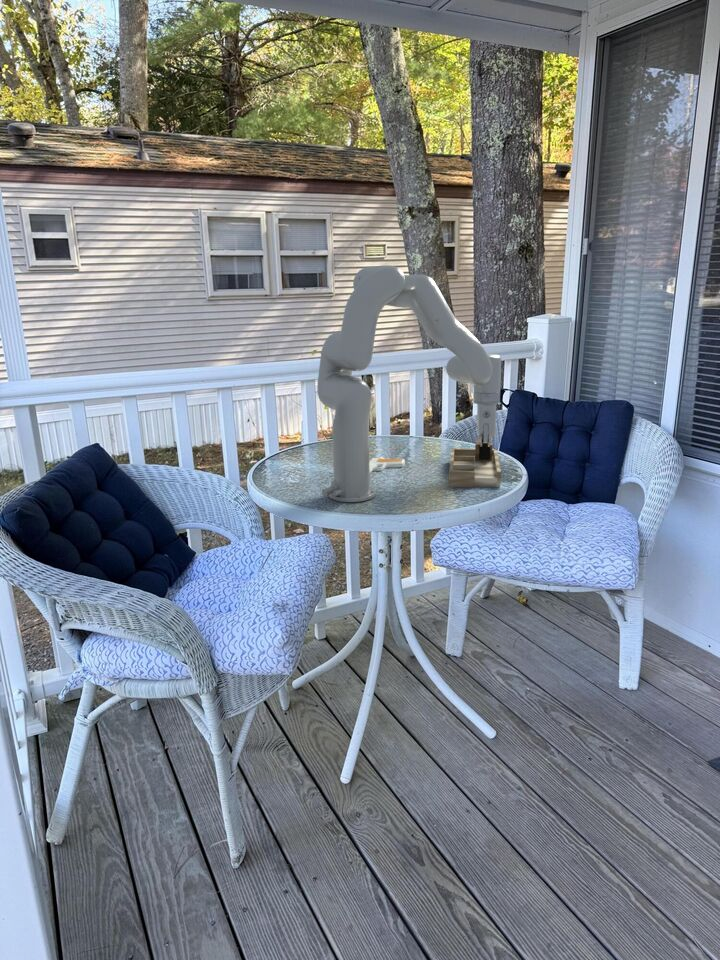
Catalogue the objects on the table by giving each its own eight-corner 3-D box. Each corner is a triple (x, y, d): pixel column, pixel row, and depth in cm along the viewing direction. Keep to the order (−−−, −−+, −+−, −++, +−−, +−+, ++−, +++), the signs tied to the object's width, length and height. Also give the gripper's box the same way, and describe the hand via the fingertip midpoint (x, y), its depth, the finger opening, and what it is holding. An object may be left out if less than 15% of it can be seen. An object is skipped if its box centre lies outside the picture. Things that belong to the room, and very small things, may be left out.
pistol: (389, 483, 182) (351, 479, 186) (407, 464, 200) (373, 461, 204) (389, 475, 182) (351, 471, 185) (407, 457, 200) (373, 454, 203)
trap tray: (500, 488, 174) (501, 473, 173) (448, 486, 176) (449, 471, 175) (496, 462, 198) (496, 449, 197) (450, 461, 201) (451, 448, 199)
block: (491, 461, 191) (492, 444, 190) (475, 460, 192) (475, 444, 191) (491, 456, 196) (492, 440, 195) (474, 456, 197) (475, 440, 195)
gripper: (501, 402, 176) (498, 466, 181) (498, 393, 190) (496, 452, 195) (473, 402, 177) (471, 465, 183) (473, 393, 191) (471, 452, 197)
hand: (484, 458), depth 189 cm, fingers closed
